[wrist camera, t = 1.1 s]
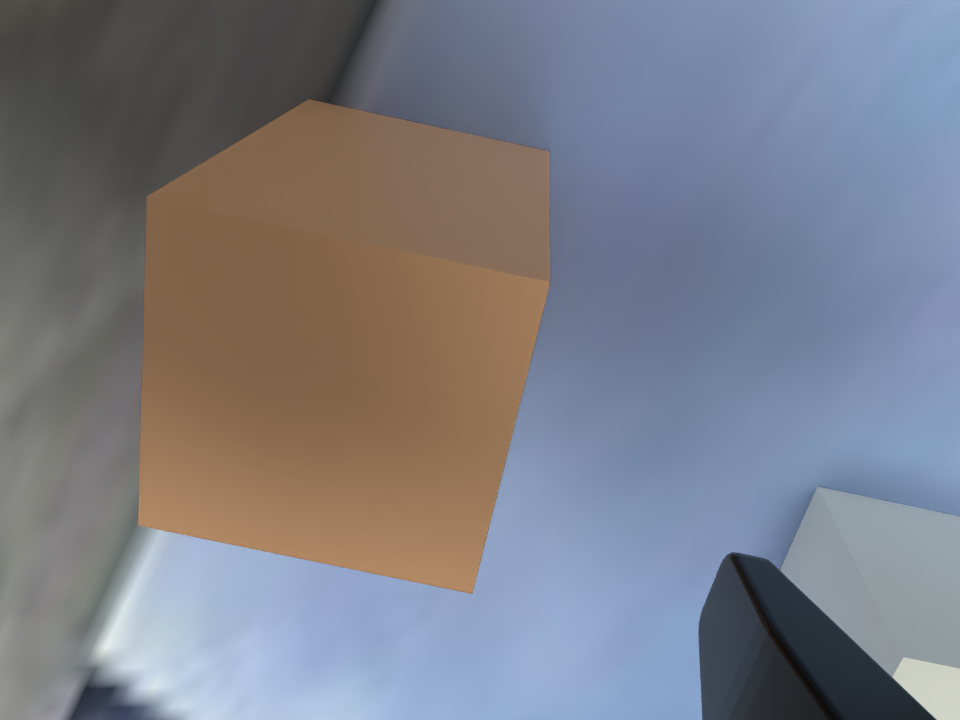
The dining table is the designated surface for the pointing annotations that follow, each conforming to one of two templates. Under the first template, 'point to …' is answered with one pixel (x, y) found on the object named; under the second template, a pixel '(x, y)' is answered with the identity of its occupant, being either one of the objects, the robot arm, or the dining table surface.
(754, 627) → the robot arm
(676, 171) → the dining table surface
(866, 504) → the off-white cube
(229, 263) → the brown block
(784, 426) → the dining table surface
